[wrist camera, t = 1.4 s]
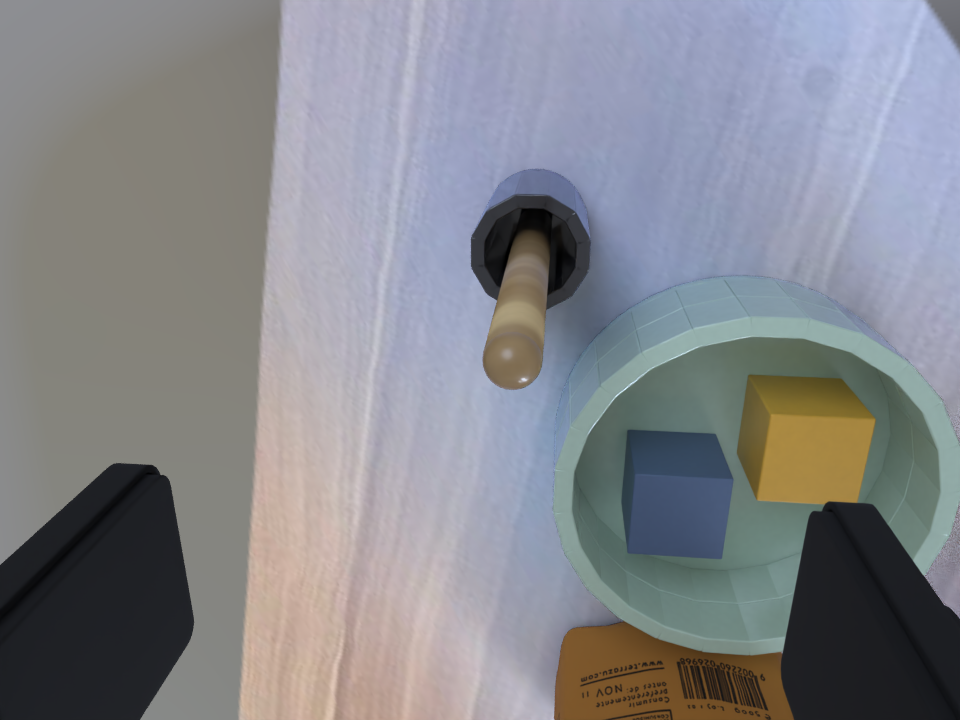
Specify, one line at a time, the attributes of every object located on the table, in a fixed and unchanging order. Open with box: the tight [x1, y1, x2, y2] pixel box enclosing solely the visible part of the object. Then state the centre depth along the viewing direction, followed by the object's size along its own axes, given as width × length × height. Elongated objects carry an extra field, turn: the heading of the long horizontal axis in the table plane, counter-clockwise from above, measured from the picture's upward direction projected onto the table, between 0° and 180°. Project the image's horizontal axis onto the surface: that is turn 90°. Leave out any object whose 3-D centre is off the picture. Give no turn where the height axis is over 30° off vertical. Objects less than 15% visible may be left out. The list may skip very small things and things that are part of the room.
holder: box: [471, 169, 591, 310], centre depth 29 cm, size 4×4×6 cm
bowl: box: [553, 276, 960, 655], centre depth 33 cm, size 16×16×6 cm
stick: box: [483, 209, 552, 390], centre depth 24 cm, size 1×1×16 cm
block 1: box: [621, 430, 734, 559], centre depth 34 cm, size 4×4×4 cm
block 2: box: [737, 375, 876, 505], centre depth 32 cm, size 4×4×4 cm
